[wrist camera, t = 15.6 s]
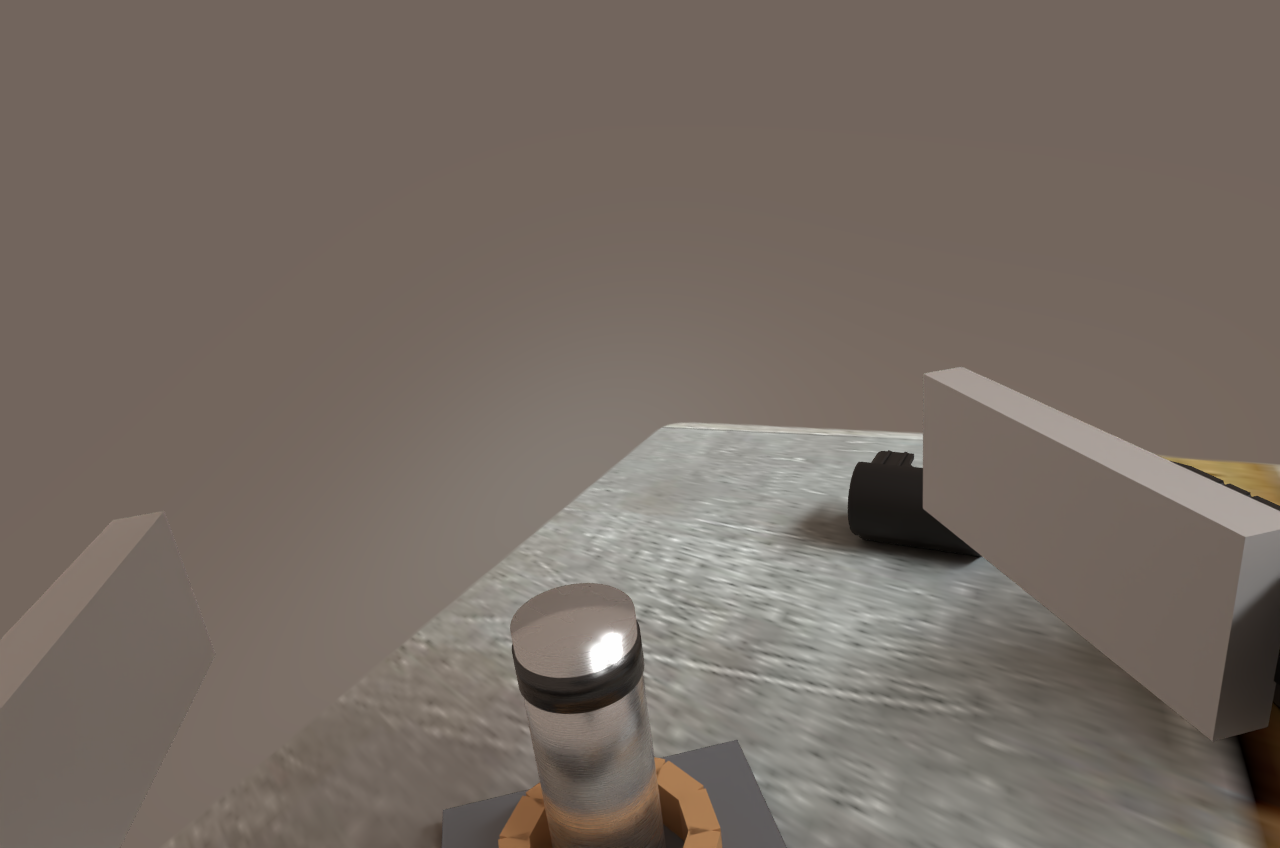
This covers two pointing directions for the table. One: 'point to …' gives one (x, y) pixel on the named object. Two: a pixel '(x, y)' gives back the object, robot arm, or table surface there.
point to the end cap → (896, 506)
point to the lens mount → (689, 797)
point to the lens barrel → (589, 716)
